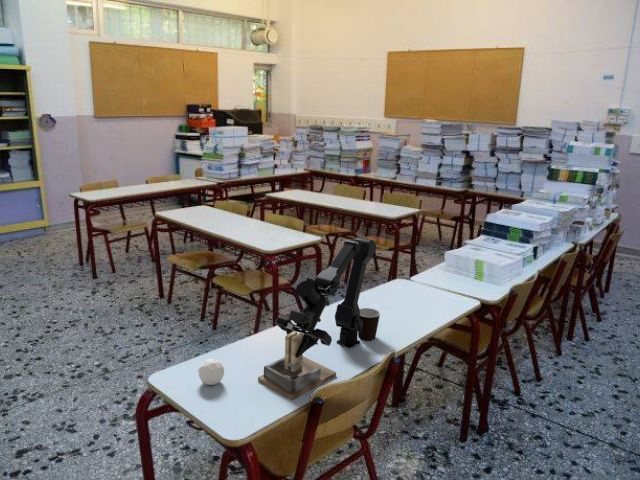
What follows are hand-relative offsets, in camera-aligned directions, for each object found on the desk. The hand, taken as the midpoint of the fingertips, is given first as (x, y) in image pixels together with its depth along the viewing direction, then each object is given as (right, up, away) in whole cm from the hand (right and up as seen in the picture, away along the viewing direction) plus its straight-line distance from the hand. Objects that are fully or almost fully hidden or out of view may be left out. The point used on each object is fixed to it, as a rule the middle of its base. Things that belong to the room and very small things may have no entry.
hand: (291, 355), depth 157 cm
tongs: (+1, -6, +3) cm, 7 cm away
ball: (-25, -9, 0) cm, 26 cm away
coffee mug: (+27, -1, +37) cm, 45 cm away
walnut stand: (+2, -8, +5) cm, 10 cm away
